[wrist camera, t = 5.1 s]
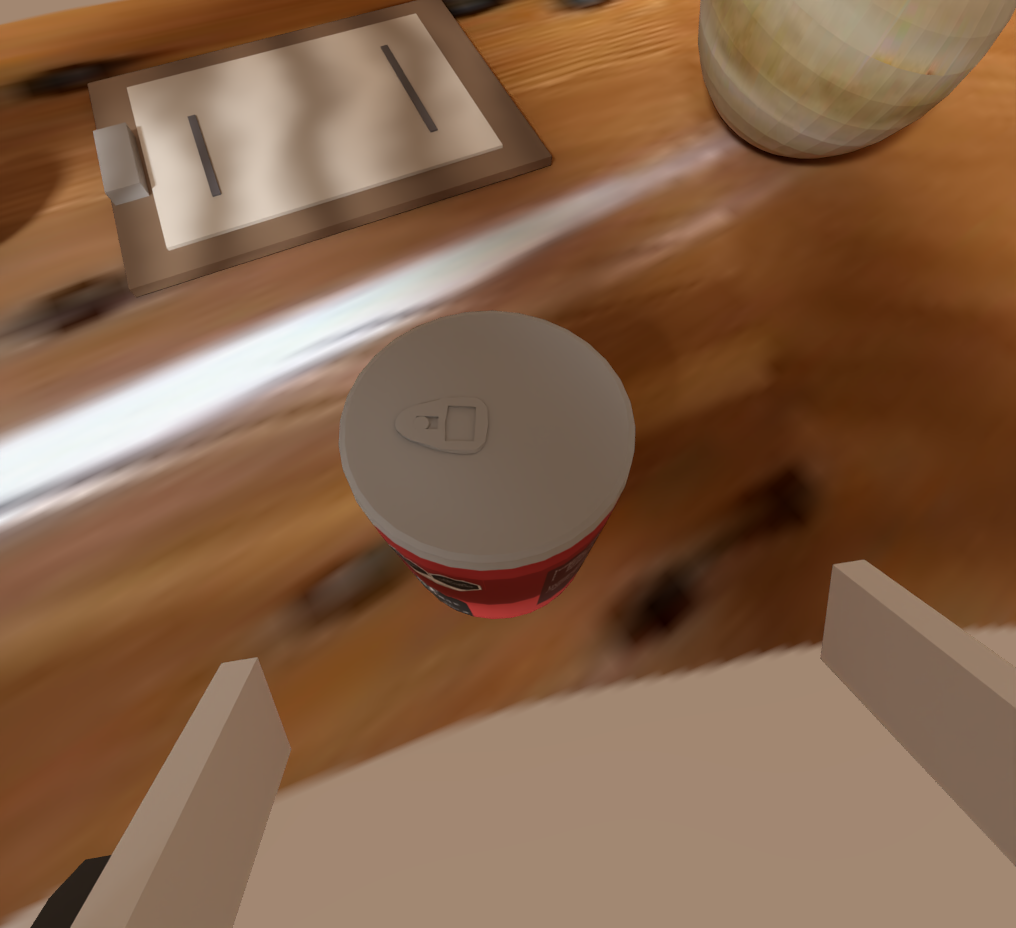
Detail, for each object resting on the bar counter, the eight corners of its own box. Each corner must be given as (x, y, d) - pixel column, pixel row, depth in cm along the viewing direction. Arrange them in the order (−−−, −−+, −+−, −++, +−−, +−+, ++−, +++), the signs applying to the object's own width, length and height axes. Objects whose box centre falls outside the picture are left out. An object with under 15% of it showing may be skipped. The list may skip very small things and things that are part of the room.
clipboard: (136, 297, 30) (117, 277, 28) (93, 92, 37) (77, 69, 35) (551, 164, 34) (552, 142, 32) (438, 4, 41) (436, -20, 40)
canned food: (397, 479, 25) (320, 336, 15) (557, 443, 26) (588, 283, 16) (425, 643, 22) (354, 602, 12) (606, 596, 23) (682, 522, 13)
